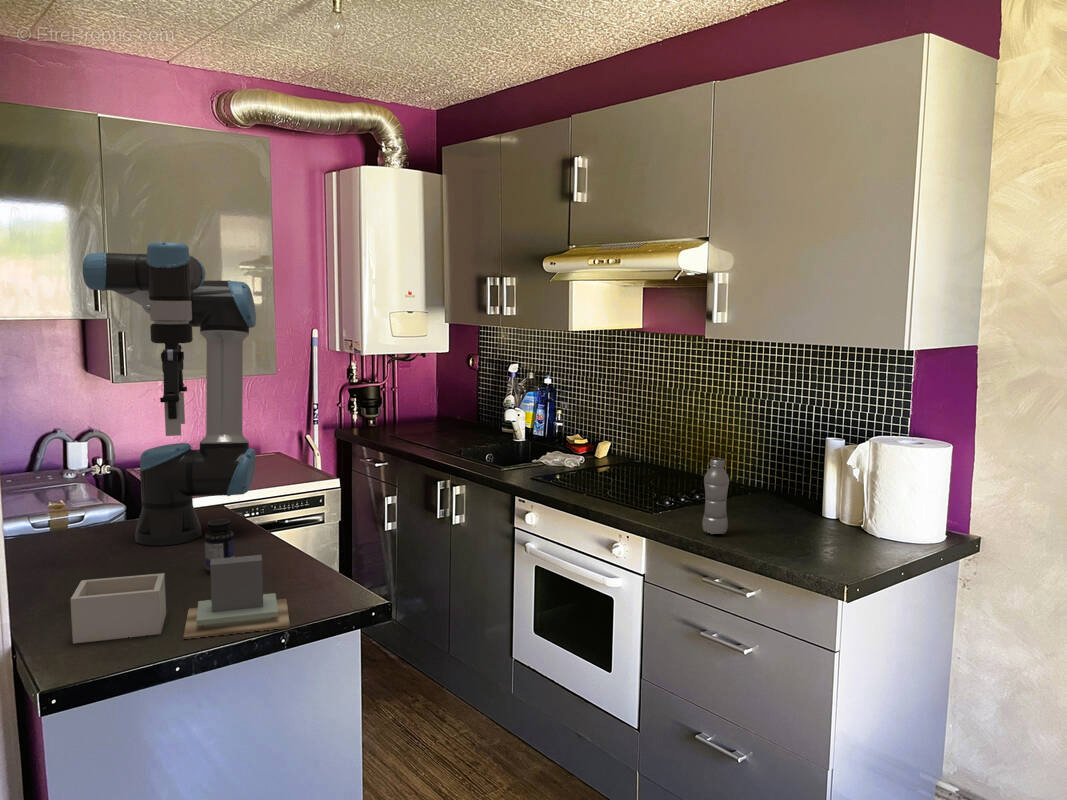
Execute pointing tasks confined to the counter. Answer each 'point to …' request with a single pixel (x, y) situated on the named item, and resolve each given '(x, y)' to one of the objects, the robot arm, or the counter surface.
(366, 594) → the counter surface
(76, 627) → the storage box
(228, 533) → the pill bottle
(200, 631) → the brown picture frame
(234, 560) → the green base grey block
